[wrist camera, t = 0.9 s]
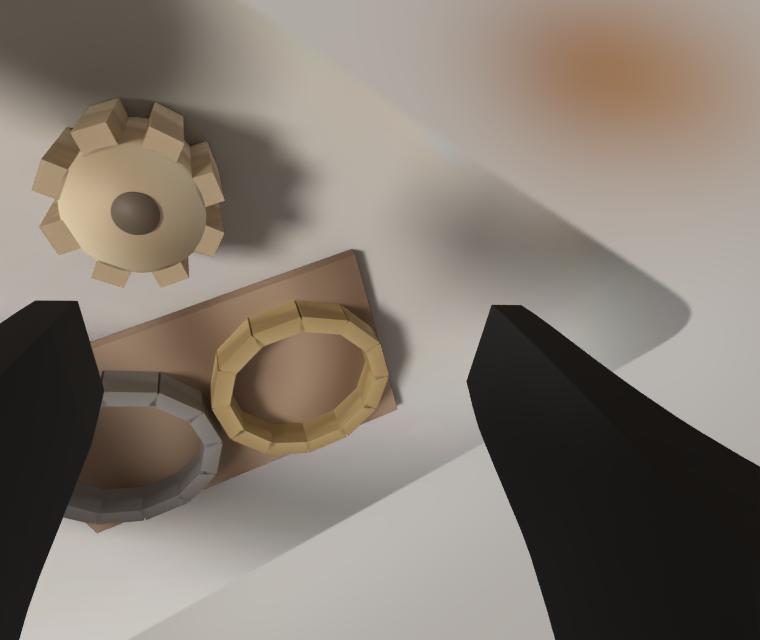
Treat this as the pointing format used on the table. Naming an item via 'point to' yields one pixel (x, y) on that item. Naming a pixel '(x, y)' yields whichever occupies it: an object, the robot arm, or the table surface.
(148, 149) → the gear
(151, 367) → the gear board
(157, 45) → the table surface
